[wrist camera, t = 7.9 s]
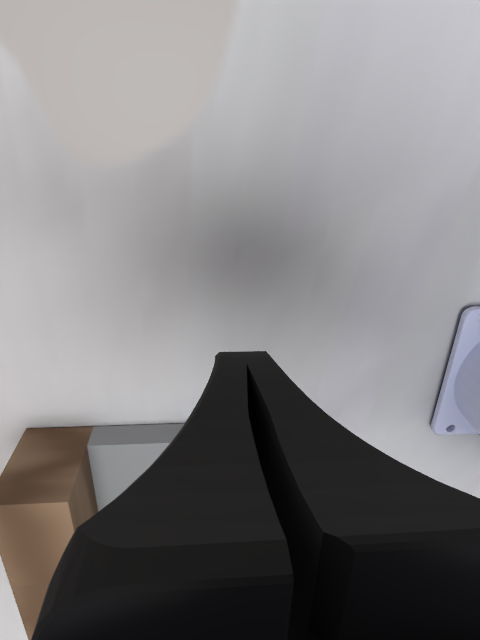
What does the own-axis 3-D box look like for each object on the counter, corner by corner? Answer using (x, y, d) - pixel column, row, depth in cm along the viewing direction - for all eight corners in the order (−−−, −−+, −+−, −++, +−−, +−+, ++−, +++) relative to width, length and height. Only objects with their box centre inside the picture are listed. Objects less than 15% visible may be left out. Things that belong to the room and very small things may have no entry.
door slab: (294, 419, 24) (307, 464, 21) (278, 577, 30) (287, 630, 27) (93, 426, 23) (77, 474, 20) (119, 588, 29) (109, 643, 26)
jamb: (93, 426, 23) (67, 502, 19) (119, 588, 29) (104, 674, 25) (26, 428, 23) (-16, 505, 18) (66, 591, 29) (41, 679, 25)
